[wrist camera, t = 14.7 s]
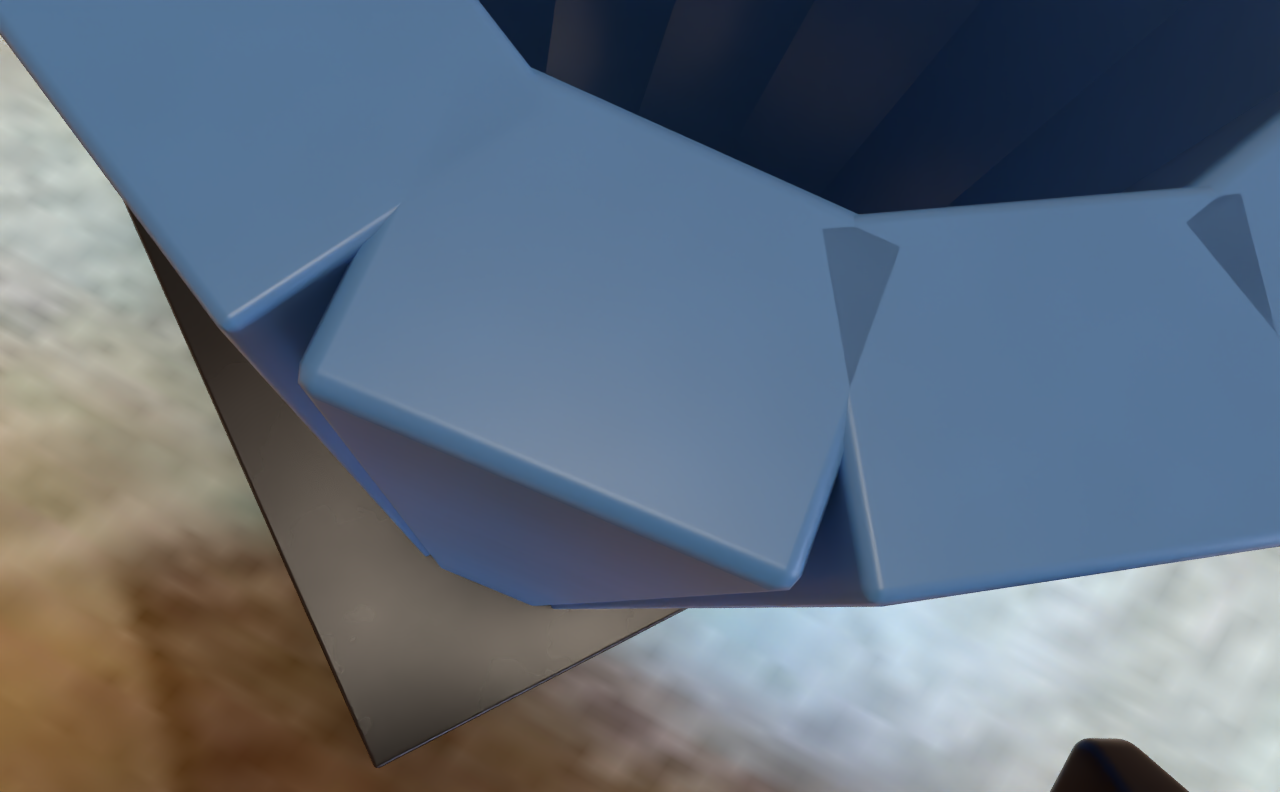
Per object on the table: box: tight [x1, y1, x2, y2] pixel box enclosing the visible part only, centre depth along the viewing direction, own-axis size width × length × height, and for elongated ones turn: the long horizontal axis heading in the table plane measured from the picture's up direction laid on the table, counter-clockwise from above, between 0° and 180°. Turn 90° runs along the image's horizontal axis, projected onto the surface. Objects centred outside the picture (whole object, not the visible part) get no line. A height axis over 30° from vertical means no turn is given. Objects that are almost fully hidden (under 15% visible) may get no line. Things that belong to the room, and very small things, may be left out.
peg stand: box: [123, 200, 687, 768], centre depth 16 cm, size 10×10×5 cm
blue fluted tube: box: [0, 0, 1280, 609], centre depth 11 cm, size 7×7×14 cm
